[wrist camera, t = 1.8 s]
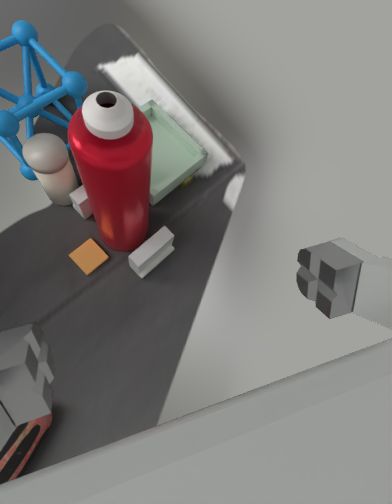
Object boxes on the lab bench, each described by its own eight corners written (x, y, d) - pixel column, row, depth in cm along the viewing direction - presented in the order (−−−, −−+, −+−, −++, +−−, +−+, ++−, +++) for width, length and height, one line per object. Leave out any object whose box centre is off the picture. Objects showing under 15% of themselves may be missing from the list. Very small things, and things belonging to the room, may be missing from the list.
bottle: (157, 228, 37) (174, 103, 18) (124, 261, 36) (106, 159, 17) (123, 199, 38) (106, 47, 19) (89, 229, 36) (32, 95, 17)
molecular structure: (32, 187, 36) (-5, 130, 27) (-22, 129, 37) (-76, 54, 28) (102, 142, 40) (90, 77, 30) (50, 89, 41) (23, 10, 31)
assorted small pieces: (19, 202, 36) (-14, 162, 28) (151, 113, 42) (153, 61, 34) (113, 304, 34) (106, 290, 26) (235, 195, 40) (257, 159, 33)
